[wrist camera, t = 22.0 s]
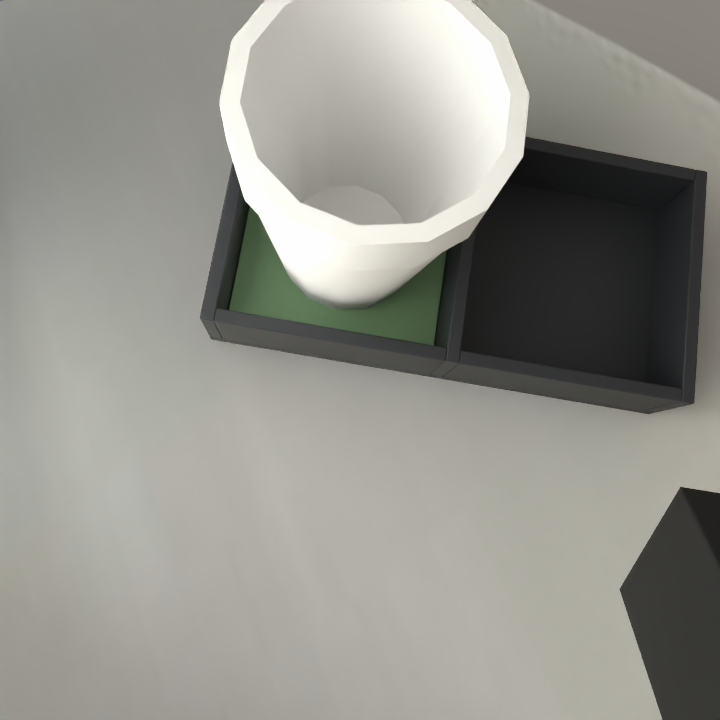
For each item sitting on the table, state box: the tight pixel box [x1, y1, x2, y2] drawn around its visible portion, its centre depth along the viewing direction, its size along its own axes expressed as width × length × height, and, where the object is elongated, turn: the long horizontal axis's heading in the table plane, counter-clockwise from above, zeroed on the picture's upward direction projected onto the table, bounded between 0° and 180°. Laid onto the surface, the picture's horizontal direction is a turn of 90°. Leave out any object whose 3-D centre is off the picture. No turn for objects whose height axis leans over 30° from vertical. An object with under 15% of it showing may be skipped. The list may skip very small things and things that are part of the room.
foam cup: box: [219, 0, 529, 310], centre depth 27 cm, size 10×9×13 cm
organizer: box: [200, 137, 707, 414], centre depth 33 cm, size 22×11×4 cm, turn 81°
